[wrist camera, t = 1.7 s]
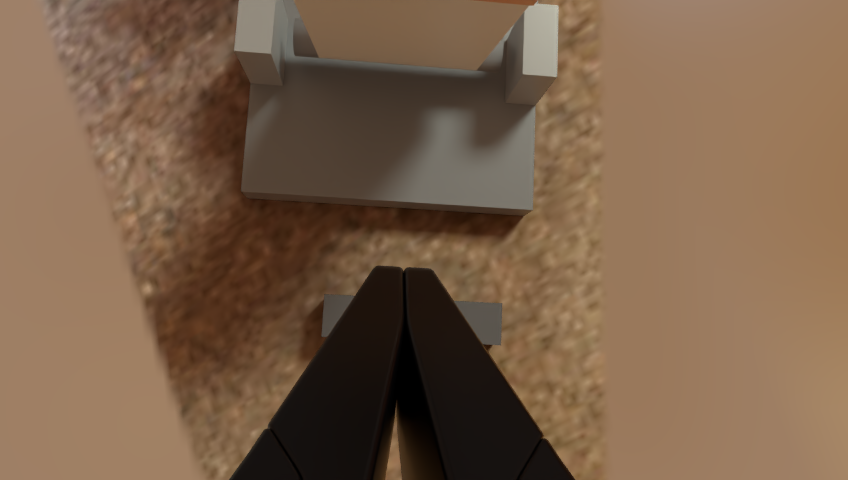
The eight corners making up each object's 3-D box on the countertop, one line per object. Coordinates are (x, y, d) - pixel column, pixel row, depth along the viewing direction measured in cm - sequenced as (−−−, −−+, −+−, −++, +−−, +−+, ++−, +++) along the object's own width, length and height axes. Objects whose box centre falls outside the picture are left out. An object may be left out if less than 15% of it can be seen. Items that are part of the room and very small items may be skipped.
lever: (494, 82, 22) (604, -20, 11) (296, 67, 21) (215, -57, 11) (498, 32, 21) (613, -120, 11) (299, 15, 21) (219, -162, 10)
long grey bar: (495, 304, 22) (502, 303, 21) (493, 343, 22) (500, 345, 21) (327, 295, 22) (324, 294, 21) (324, 336, 22) (321, 336, 21)
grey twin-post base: (524, 215, 23) (554, 194, 19) (247, 198, 22) (222, 172, 18) (532, -85, 24) (561, -158, 21) (274, -111, 24) (256, -192, 20)
